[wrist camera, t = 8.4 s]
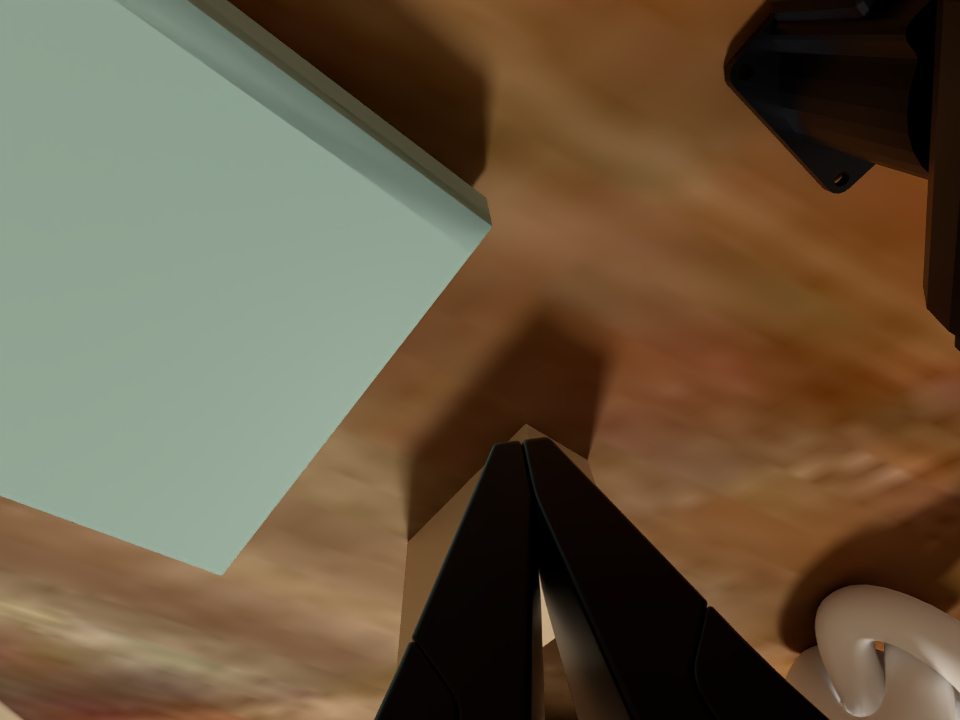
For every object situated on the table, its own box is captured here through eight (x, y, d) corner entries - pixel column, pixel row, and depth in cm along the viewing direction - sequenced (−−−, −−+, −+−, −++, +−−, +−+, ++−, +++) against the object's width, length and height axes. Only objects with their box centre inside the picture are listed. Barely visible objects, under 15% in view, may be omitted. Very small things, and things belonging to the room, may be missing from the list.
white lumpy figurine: (994, 594, 34) (1152, 757, 26) (844, 683, 39) (939, 841, 31) (882, 541, 30) (1027, 710, 23) (734, 646, 36) (811, 813, 28)
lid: (486, 197, 18) (492, 226, 15) (245, 518, 26) (221, 575, 23) (86, -108, 14) (-5, -143, 11) (-62, 393, 21) (-137, 446, 18)
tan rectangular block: (587, 459, 26) (627, 585, 20) (467, 567, 30) (470, 699, 24) (525, 422, 25) (549, 546, 19) (407, 540, 28) (396, 674, 23)
